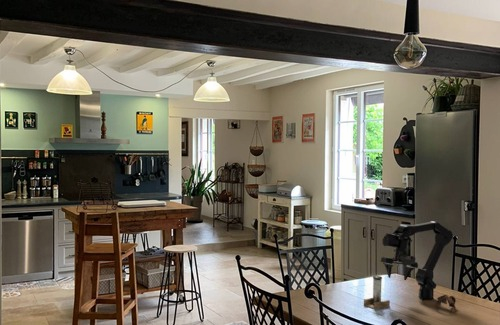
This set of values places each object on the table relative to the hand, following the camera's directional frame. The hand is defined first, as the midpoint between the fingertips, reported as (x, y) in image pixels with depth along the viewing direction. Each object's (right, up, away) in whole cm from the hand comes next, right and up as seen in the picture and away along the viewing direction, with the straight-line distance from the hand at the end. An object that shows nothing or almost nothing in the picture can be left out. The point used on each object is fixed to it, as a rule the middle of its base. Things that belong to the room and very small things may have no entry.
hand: (397, 278), depth 258 cm
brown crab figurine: (+21, -13, -11) cm, 27 cm away
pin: (-12, -11, -7) cm, 18 cm away
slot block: (-13, -12, -7) cm, 19 cm away
